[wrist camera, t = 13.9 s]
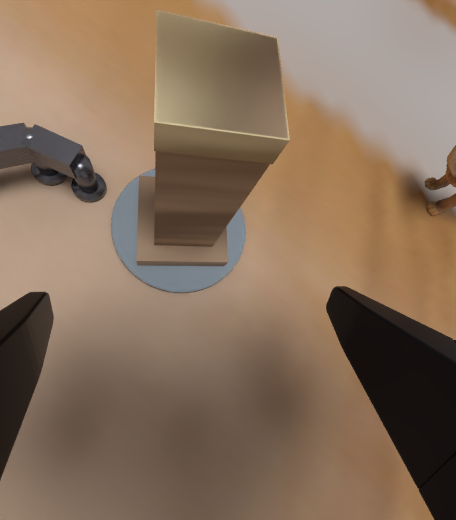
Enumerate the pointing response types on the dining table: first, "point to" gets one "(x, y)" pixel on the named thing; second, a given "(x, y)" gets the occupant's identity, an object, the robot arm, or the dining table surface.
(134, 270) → the mat
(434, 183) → the lion figurine
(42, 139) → the dark grey legged piece
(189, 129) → the square column on plinth
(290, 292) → the dining table surface
